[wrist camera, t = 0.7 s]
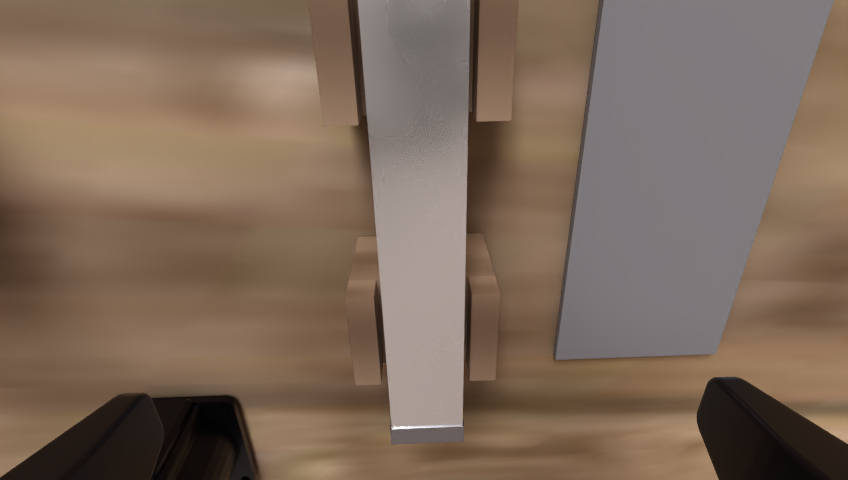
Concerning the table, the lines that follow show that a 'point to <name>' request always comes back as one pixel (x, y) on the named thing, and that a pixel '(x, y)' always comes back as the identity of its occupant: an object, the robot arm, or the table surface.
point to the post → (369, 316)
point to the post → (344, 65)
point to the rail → (420, 204)
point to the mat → (677, 167)
